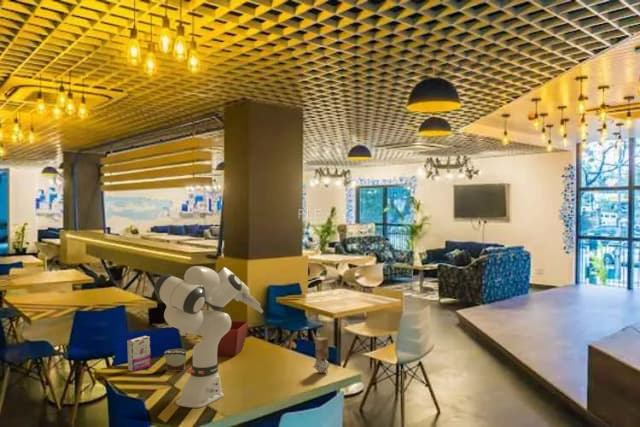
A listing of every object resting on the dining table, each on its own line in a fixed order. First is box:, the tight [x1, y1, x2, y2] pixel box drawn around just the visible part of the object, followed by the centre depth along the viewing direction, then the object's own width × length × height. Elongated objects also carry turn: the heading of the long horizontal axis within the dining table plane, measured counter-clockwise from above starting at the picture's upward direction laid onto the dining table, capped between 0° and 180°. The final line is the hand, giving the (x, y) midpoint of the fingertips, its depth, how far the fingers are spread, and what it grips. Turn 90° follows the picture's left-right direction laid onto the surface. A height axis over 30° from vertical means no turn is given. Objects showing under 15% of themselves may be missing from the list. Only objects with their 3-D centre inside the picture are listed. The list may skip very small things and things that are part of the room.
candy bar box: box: [126, 335, 152, 373], centre depth 272 cm, size 11×5×16 cm, turn 143°
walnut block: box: [314, 336, 329, 360], centre depth 262 cm, size 5×5×10 cm
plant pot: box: [217, 320, 249, 357], centre depth 298 cm, size 19×19×17 cm
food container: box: [163, 348, 188, 372], centre depth 271 cm, size 12×6×10 cm, turn 84°
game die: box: [312, 357, 332, 375], centre depth 262 cm, size 9×8×10 cm
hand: (259, 310), depth 258 cm, fingers open, 8 cm apart
